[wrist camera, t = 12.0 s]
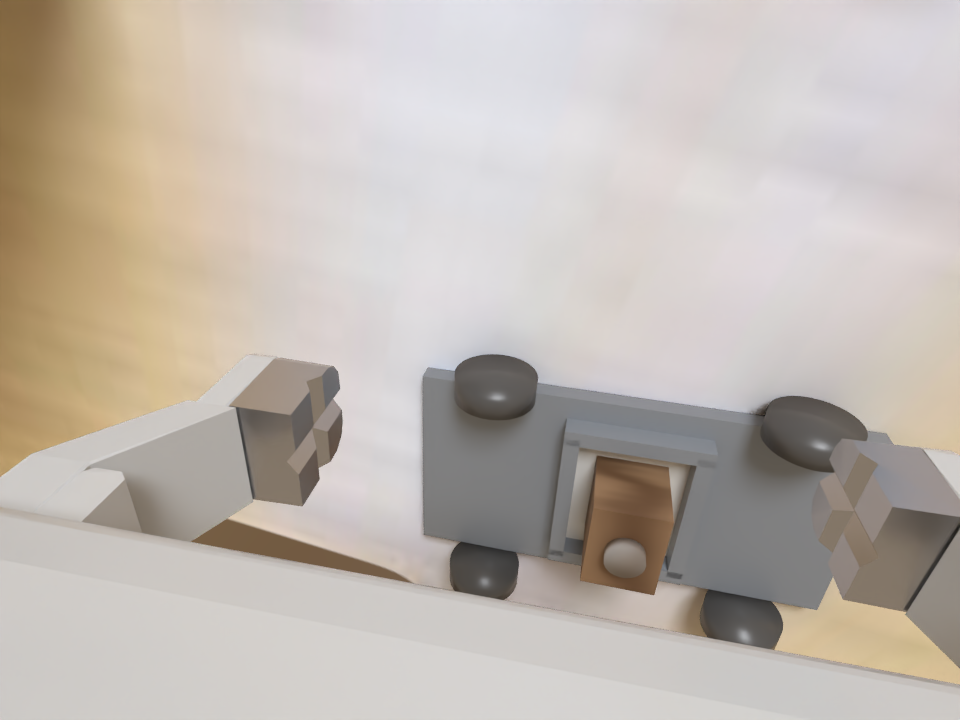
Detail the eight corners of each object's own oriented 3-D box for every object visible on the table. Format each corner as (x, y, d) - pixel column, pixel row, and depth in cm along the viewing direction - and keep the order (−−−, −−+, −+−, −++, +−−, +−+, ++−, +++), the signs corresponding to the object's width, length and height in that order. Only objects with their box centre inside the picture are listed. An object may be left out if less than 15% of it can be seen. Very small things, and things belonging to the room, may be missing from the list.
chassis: (428, 539, 47) (408, 589, 43) (428, 344, 39) (403, 383, 35) (804, 612, 43) (824, 676, 38) (897, 409, 34) (936, 463, 30)
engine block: (584, 523, 41) (579, 590, 36) (597, 455, 39) (592, 517, 34) (651, 536, 41) (654, 606, 36) (668, 467, 38) (675, 532, 33)
